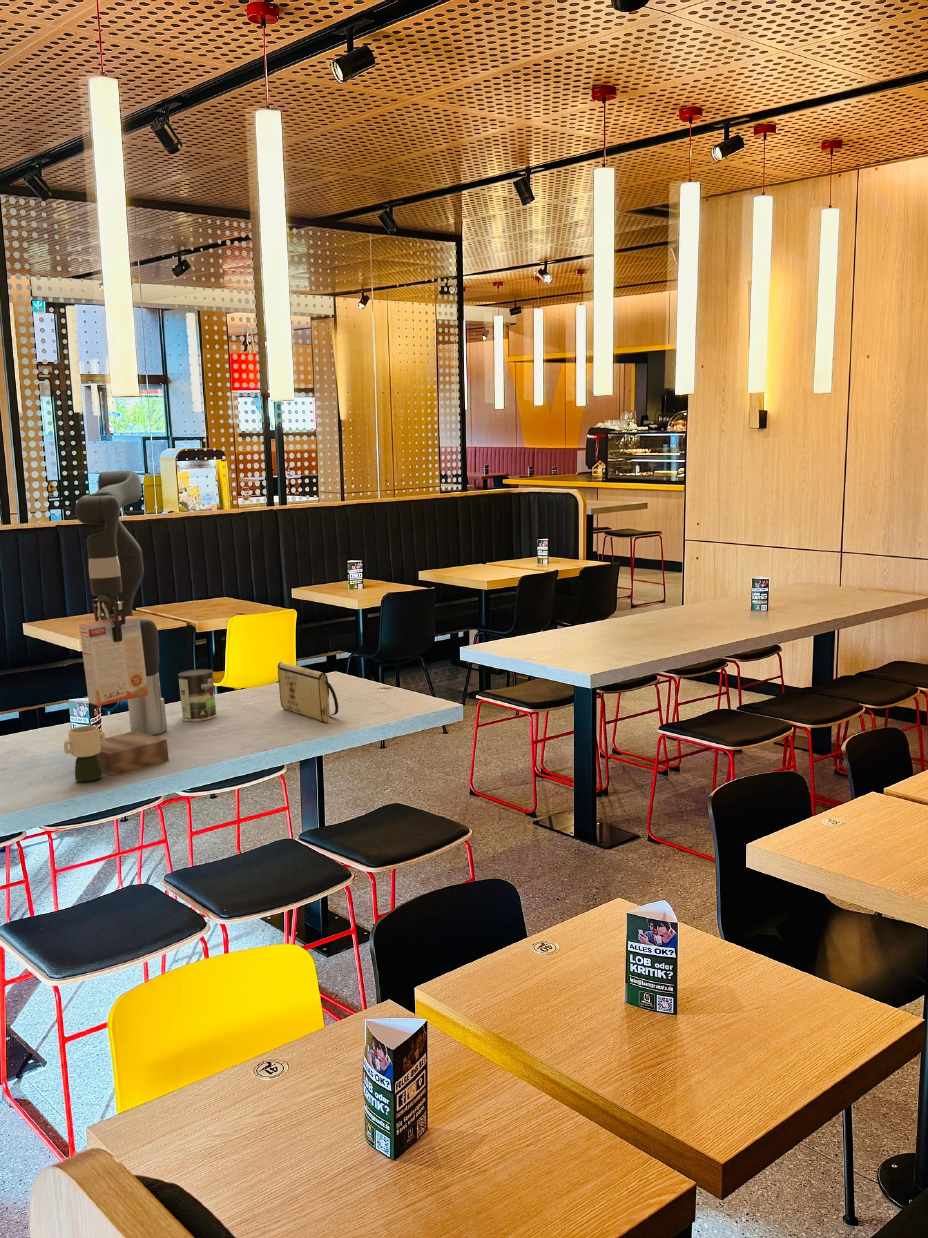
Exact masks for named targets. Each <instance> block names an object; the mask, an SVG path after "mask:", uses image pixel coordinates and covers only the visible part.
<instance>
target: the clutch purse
mask: <svg viewBox="0 0 928 1238" xmlns="http://www.w3.org/2000/svg"><path fill="white" fill-rule="evenodd" d="M277 676H278V688H279V690H278V691H279V700H280V705H281V708H282V709H283V710H288V711H291V712H294V713H296V714H300V715H303V716H305V717H309V718H312V719H315V720H318V721H321V722H323V723H325V724H327V723H328V721H329V720H330V701H329V700H330V699H329V697H330V693H331V695H332V696H331V697H332V698H333V701H334V703H333V704H334V712H333V713H332V714H331V716H335V715H337V714H338V713H339V702H338V697H337V695H336V692H335V690H334V688H333V686H332V685H331V683H330V682H329V679H328V675H327V674H326V673H325V672H321V671H317V670H314V669H310V668H307V667H302V666H299V665H294V664H290V663H287V662H283V661H280V662H278V663H277Z"/></svg>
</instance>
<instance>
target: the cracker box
mask: <svg viewBox="0 0 928 1238" xmlns="http://www.w3.org/2000/svg"><path fill="white" fill-rule="evenodd" d="M113 620H114V619H113ZM78 627H79V634H80V644H81V652H82V658H83V669H84V673H85V682H86V683H85V684H86V691H87V698H88V703H89V704H90V705H94V706H97V707H100V706H105V705H110V704H114V703H119V702H122V701H128V699H132V698H137V697H142V696H146V695H148V689H147V680H146V671H145V662H144V653H143V644H142V635H141V627H140V617H139V616H134V615H133V616H126V617H125V624H123V625H122V626H121V630H122V641H120V642H114V641H113V635H112V626H111V623H110V620H108V619H107V620H100V621H95V620H94V621H90V622H83V623H79V625H78Z"/></svg>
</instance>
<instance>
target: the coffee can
mask: <svg viewBox="0 0 928 1238" xmlns="http://www.w3.org/2000/svg"><path fill="white" fill-rule="evenodd" d="M177 677H178V683H179V695H180V704H181V713H182V714H181V715H182V721H184V722H185V721H186V722H202V721H203V722H204V721H208V720H212V719H214V718H216V717H217V716H218V715H217V708H216V696H215V686H214V685H215V683H214V670H212V669H209V668H206V669H205V668H203V669H202V668H201V669H199V668H198V669H190V670H185V671H181V672H179V673H177Z"/></svg>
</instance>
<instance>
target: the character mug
mask: <svg viewBox="0 0 928 1238" xmlns="http://www.w3.org/2000/svg"><path fill="white" fill-rule="evenodd" d="M99 730H100V729H99V726H97V725H83V726H81V725H80V726H77V727H72V728H70V729H68V734H67V735H68V739H67V740H65V741H63V748H64V749H63V750H64V754H65V755H68V754H70V755H71V756H72V757H75V758H76V759H75V762H74V764H75V765H74V767H75V768H74V779H75V780H74V781H81V782H88V781H89V782H90V781H95V780H98V779H100V778H101V777H102V776H103V773H102V772H101V768H100V764H99V760H98V757H97V756H96V754H98V753H100V750H101V746H100V745H102V744H104V743H105V738H106V737H105V735H106V734H105V731H103V730H102V731H99ZM100 740H101V741H100Z"/></svg>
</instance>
